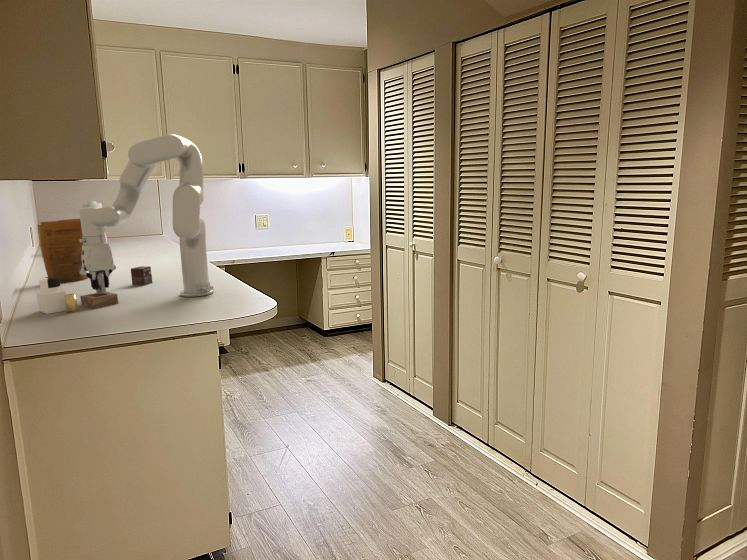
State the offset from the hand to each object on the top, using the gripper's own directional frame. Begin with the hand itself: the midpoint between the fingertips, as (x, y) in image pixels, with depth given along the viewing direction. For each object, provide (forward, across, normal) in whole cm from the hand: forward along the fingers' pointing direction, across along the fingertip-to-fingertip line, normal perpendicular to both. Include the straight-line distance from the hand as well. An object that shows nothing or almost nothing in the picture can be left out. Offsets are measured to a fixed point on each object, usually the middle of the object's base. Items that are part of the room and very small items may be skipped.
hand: (100, 287), depth 208 cm
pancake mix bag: (+4, +11, +51) cm, 52 cm away
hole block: (+4, -5, -8) cm, 11 cm away
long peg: (+4, 0, 0) cm, 4 cm away
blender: (+4, +69, +141) cm, 157 cm away
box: (+5, +25, +14) cm, 29 cm away
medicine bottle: (+5, -19, -4) cm, 20 cm away
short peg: (+4, -16, -11) cm, 20 cm away
